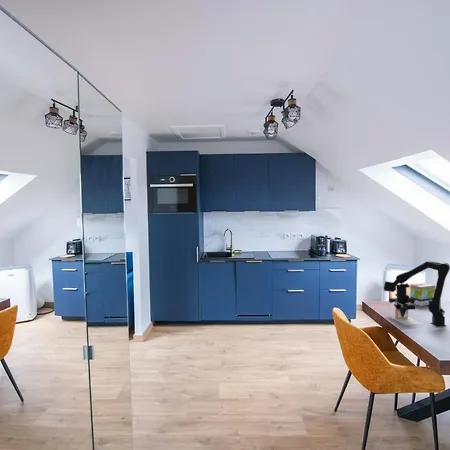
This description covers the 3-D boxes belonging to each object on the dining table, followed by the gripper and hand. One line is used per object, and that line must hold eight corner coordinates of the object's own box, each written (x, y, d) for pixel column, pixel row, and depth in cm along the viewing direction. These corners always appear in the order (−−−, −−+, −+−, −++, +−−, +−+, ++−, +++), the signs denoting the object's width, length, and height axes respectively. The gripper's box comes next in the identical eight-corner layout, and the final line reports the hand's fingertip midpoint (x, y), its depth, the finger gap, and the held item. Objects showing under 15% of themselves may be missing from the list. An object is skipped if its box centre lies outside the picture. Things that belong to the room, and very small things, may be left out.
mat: (423, 324, 199) (423, 323, 199) (405, 325, 198) (405, 324, 198) (407, 317, 213) (407, 316, 213) (391, 318, 212) (391, 317, 212)
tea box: (421, 306, 237) (421, 287, 237) (409, 303, 247) (409, 284, 246) (435, 304, 243) (435, 285, 242) (423, 300, 252) (423, 282, 252)
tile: (408, 318, 210) (408, 309, 210) (396, 318, 209) (396, 309, 209) (406, 317, 212) (406, 308, 212) (395, 318, 211) (395, 309, 211)
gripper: (423, 296, 202) (423, 320, 202) (403, 289, 220) (403, 311, 221) (406, 296, 200) (406, 321, 201) (388, 290, 219) (388, 312, 219)
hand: (401, 316), depth 210 cm, fingers closed on tile, 2 cm apart
